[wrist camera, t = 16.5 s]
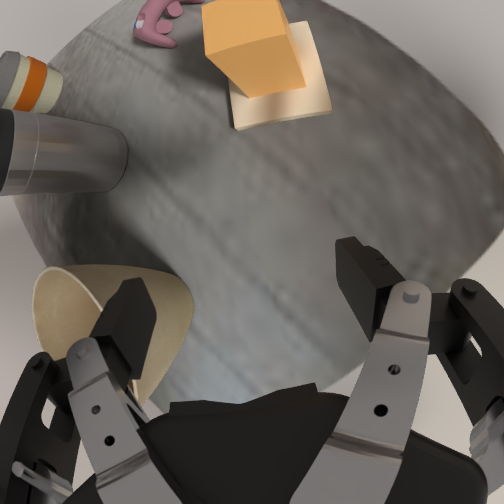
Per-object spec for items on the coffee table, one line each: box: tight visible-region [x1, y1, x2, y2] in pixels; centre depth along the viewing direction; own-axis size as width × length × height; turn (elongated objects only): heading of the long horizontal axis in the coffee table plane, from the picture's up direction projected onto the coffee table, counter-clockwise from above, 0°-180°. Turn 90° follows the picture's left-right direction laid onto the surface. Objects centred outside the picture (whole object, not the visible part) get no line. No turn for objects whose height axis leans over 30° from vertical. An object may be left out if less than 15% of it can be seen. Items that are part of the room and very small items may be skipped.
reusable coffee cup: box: [0, 51, 63, 113], centre depth 30 cm, size 12×13×15 cm
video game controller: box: [133, 0, 204, 48], centre depth 25 cm, size 10×5×7 cm, turn 155°
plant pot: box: [32, 264, 194, 407], centre depth 26 cm, size 15×15×16 cm
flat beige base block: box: [228, 21, 333, 131], centre depth 22 cm, size 10×12×6 cm
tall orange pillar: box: [202, 0, 306, 98], centre depth 20 cm, size 6×6×10 cm
